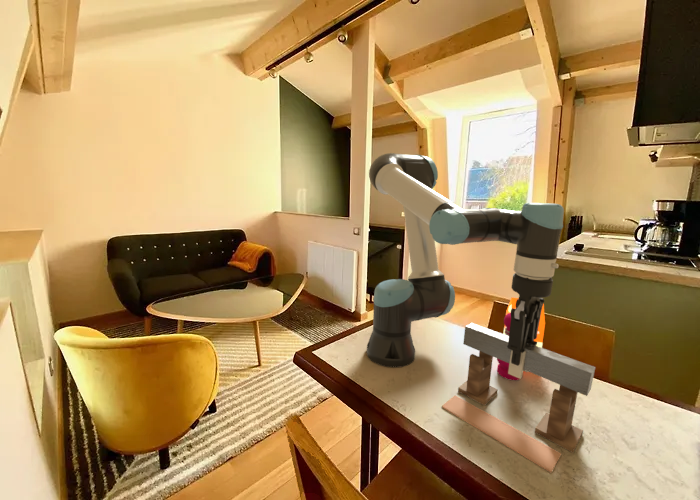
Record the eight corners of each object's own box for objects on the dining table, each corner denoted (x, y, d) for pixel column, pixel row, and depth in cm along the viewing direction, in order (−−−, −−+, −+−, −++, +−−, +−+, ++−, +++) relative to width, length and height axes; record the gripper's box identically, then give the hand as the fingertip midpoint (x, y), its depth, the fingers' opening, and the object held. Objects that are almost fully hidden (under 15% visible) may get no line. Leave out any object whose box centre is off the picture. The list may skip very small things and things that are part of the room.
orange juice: (500, 351, 100) (508, 293, 96) (531, 356, 98) (539, 296, 94) (506, 364, 92) (514, 301, 89) (538, 369, 90) (548, 305, 86)
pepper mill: (527, 383, 84) (537, 314, 80) (499, 379, 85) (507, 311, 81) (518, 368, 90) (527, 304, 87) (492, 365, 92) (500, 302, 88)
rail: (463, 344, 79) (465, 326, 78) (469, 340, 81) (471, 322, 80) (586, 396, 60) (591, 373, 59) (590, 389, 62) (595, 367, 61)
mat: (441, 407, 74) (441, 405, 74) (454, 396, 78) (454, 395, 78) (551, 473, 57) (551, 471, 57) (560, 455, 61) (561, 453, 61)
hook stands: (458, 391, 80) (461, 352, 77) (471, 380, 84) (475, 343, 82) (573, 453, 61) (582, 404, 59) (582, 435, 66) (590, 389, 64)
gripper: (539, 287, 58) (522, 395, 63) (564, 272, 69) (547, 366, 74) (499, 277, 64) (486, 378, 69) (527, 265, 74) (514, 353, 79)
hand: (518, 372), depth 71 cm, fingers closed on rail, 3 cm apart
